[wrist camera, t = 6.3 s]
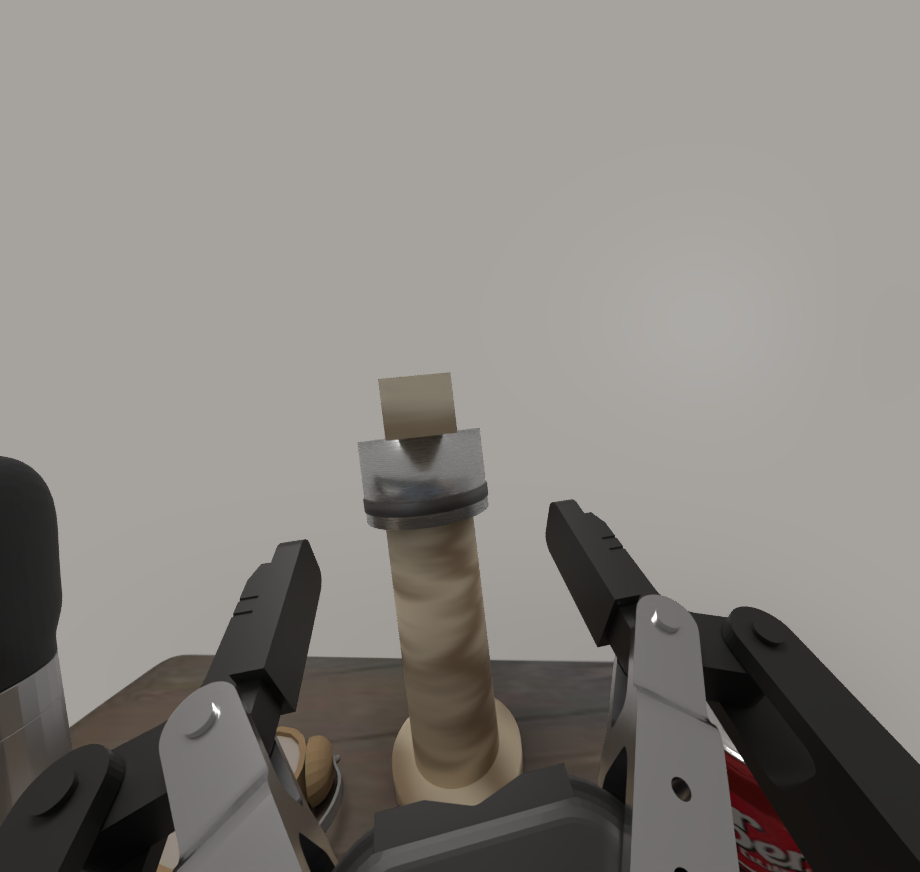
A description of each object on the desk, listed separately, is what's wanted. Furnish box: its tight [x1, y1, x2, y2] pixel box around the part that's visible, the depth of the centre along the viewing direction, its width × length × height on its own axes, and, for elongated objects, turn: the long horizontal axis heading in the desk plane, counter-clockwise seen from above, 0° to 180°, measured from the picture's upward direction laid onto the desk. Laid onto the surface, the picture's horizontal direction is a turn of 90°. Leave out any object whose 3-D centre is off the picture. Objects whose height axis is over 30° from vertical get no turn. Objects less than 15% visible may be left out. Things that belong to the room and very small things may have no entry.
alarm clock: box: [156, 727, 343, 872], centre depth 27 cm, size 11×5×15 cm
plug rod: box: [378, 373, 457, 441], centre depth 25 cm, size 18×5×4 cm, turn 7°
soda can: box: [706, 702, 813, 872], centre depth 19 cm, size 7×7×12 cm
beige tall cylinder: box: [358, 428, 524, 806], centre depth 30 cm, size 12×12×31 cm
